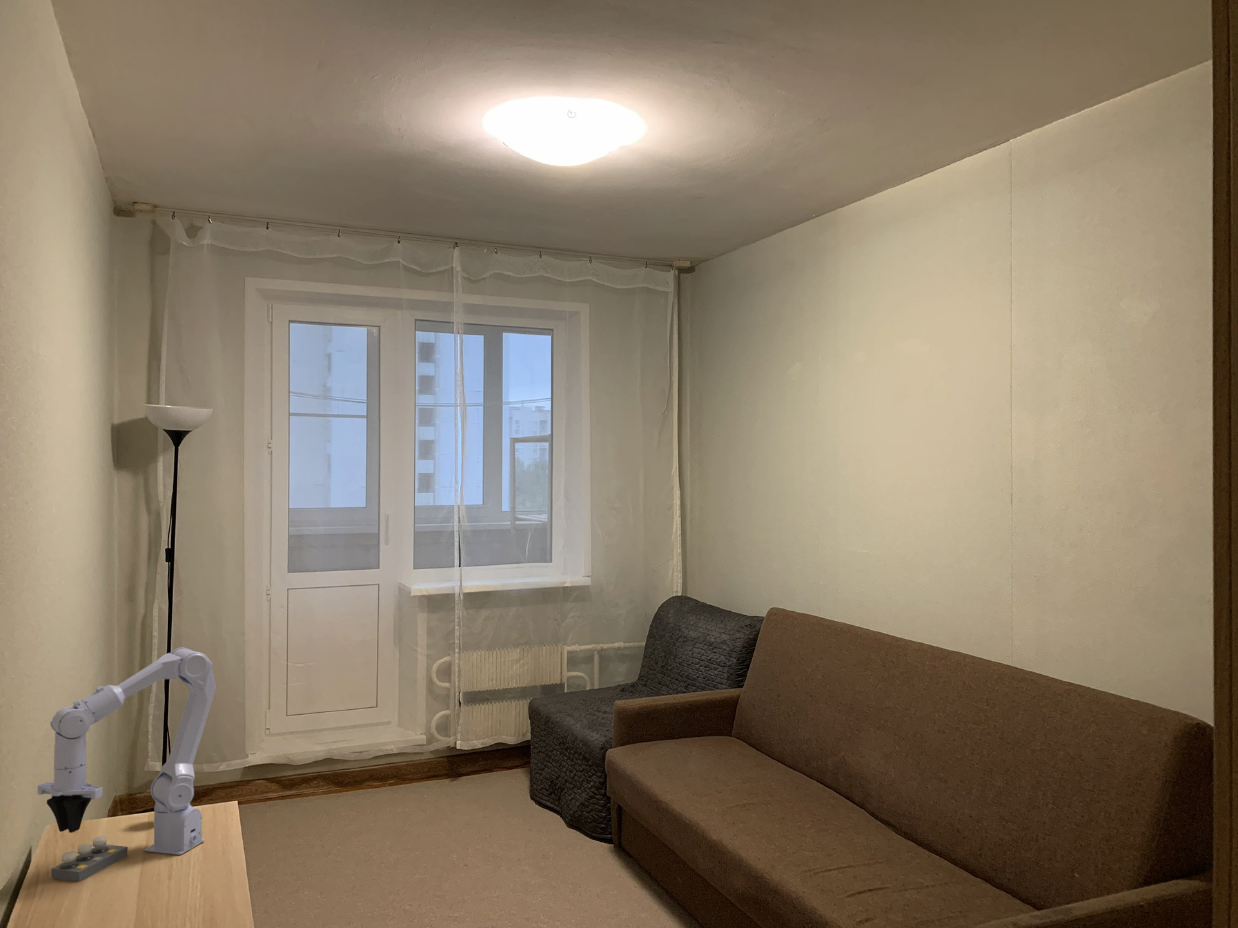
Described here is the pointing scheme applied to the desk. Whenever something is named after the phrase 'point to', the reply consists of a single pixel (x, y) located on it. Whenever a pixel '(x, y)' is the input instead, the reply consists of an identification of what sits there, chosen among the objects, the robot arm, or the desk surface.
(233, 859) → the desk surface
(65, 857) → the button left
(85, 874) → the switch panel
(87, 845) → the button middle
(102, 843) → the button right
